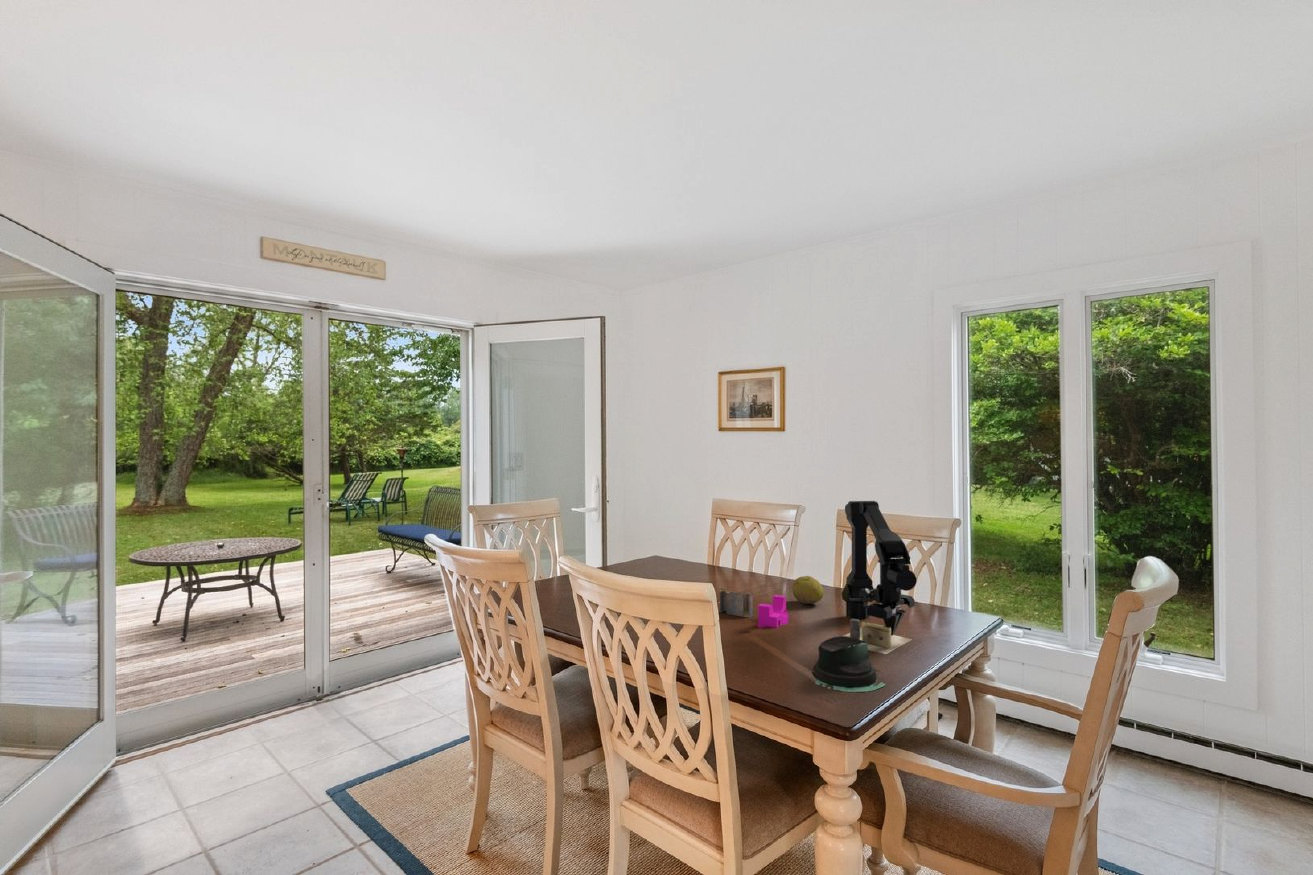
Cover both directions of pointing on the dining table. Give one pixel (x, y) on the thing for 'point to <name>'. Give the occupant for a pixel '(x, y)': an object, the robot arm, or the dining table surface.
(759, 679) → the dining table surface
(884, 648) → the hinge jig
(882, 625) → the brass leaf
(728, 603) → the ruin model on sheet
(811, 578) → the fruit
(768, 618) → the toy block
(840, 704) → the dining table surface
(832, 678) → the dark green hat
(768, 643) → the dining table surface
